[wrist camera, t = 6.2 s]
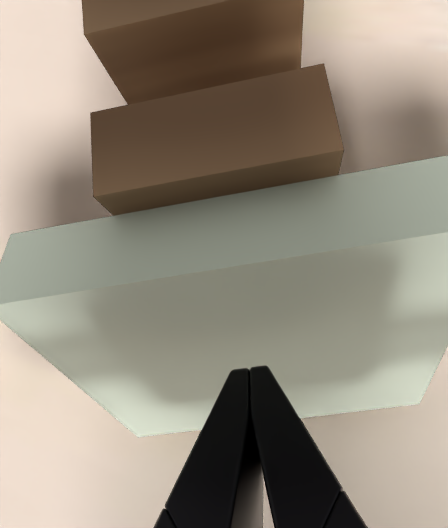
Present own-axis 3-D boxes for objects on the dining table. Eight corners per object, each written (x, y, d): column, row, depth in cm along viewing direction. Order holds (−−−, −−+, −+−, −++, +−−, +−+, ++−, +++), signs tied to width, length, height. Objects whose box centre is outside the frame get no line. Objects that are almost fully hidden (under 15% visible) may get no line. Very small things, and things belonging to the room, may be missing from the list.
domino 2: (316, 270, 16) (343, 149, 8) (192, 289, 17) (93, 196, 8) (307, 223, 17) (323, 63, 8) (188, 243, 18) (90, 112, 9)
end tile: (419, 404, 14) (508, 222, 7) (137, 437, 15) (-16, 306, 8) (400, 351, 15) (460, 152, 9) (142, 385, 17) (11, 234, 10)
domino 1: (295, 167, 18) (304, -17, 9) (181, 188, 18) (83, 34, 9) (287, 125, 18) (288, -90, 9) (176, 147, 19) (79, -36, 10)
